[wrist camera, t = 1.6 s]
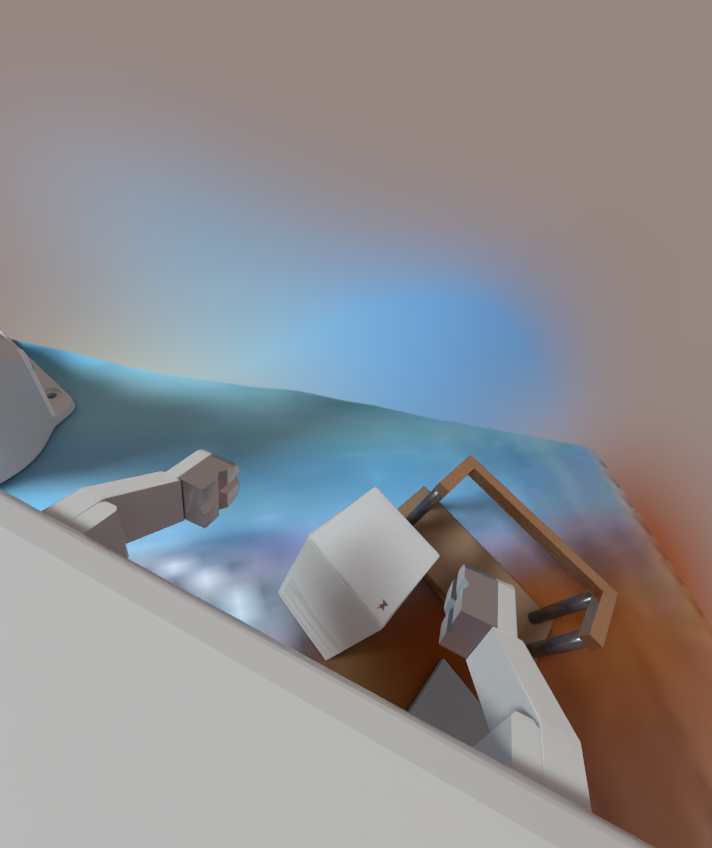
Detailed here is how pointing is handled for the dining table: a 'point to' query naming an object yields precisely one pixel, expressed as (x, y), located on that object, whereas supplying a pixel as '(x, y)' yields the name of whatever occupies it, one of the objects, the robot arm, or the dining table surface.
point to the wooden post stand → (599, 592)
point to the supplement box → (355, 573)
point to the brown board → (467, 562)
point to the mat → (450, 706)
